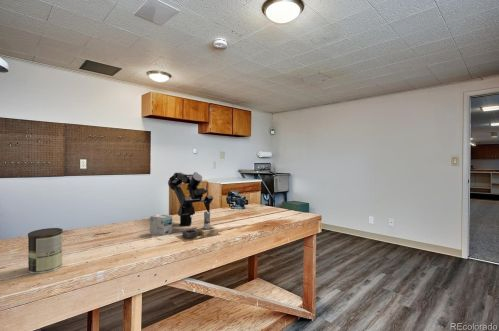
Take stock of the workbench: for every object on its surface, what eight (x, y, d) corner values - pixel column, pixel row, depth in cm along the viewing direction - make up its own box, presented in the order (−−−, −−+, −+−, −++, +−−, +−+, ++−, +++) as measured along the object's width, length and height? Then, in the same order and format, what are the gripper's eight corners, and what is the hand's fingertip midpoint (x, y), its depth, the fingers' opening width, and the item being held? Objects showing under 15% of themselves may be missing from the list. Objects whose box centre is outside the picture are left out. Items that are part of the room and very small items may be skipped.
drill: (204, 234, 139) (204, 213, 139) (203, 233, 142) (203, 211, 142) (210, 234, 140) (210, 212, 140) (209, 232, 144) (209, 211, 143)
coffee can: (20, 274, 91) (20, 235, 91) (41, 263, 101) (41, 227, 101) (51, 273, 92) (51, 235, 92) (68, 262, 102) (68, 227, 102)
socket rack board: (185, 244, 126) (185, 236, 126) (174, 238, 136) (175, 230, 135) (221, 236, 141) (222, 229, 140) (210, 231, 150) (210, 224, 150)
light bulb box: (172, 234, 143) (173, 215, 143) (164, 237, 137) (164, 217, 137) (158, 231, 148) (158, 213, 148) (149, 234, 142) (149, 215, 141)
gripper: (183, 183, 144) (191, 206, 136) (212, 182, 155) (221, 203, 147) (177, 195, 150) (184, 217, 142) (205, 193, 162) (214, 214, 154)
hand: (201, 212), depth 146 cm, fingers open, 9 cm apart
